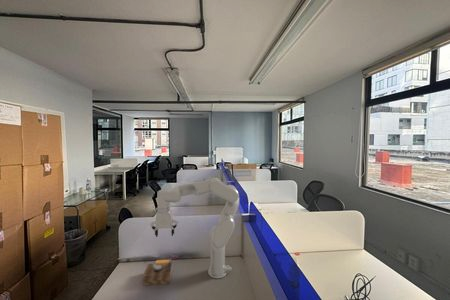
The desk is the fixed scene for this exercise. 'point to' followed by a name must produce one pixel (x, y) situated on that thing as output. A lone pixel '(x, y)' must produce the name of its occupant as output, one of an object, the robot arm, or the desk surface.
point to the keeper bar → (162, 262)
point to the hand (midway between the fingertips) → (164, 235)
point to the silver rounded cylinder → (158, 267)
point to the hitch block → (158, 274)
